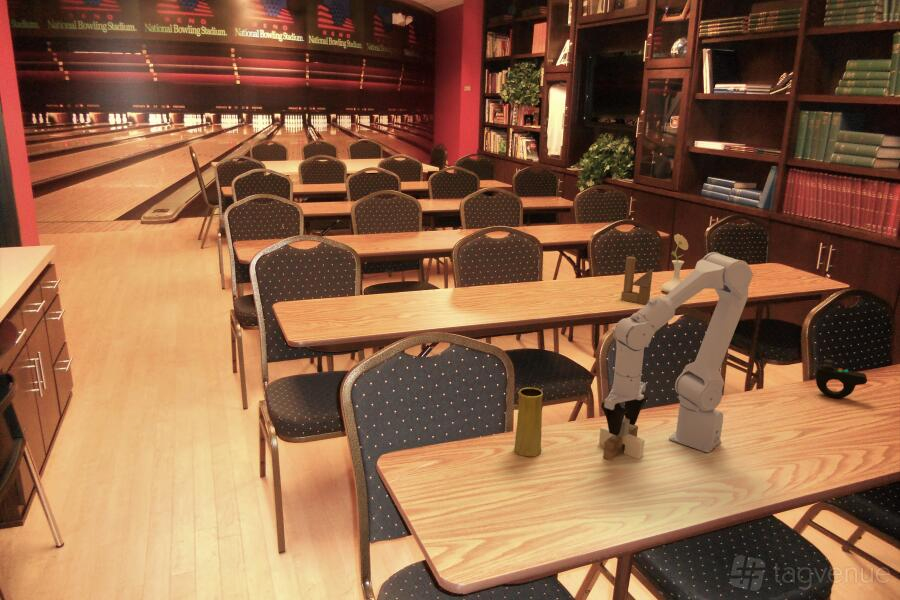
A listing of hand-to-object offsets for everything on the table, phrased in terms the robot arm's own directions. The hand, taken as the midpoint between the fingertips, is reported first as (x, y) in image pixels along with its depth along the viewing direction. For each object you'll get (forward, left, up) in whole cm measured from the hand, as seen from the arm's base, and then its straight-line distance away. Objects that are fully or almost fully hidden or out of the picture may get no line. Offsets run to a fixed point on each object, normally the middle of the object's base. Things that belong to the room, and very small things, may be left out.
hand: (622, 428), depth 150 cm
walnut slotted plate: (0, 0, -5) cm, 5 cm away
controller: (-29, -68, -5) cm, 74 cm away
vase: (+15, +15, -5) cm, 22 cm away
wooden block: (+55, -116, -5) cm, 128 cm away
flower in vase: (+50, -142, -5) cm, 151 cm away
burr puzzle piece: (0, 0, -5) cm, 5 cm away
